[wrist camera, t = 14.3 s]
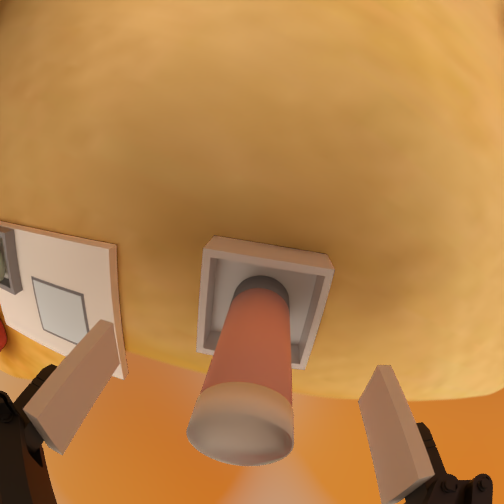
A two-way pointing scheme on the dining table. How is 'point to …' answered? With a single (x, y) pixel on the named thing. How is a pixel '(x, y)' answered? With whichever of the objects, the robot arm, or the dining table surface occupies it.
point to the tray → (267, 264)
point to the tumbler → (249, 381)
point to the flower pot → (2, 336)
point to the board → (59, 288)
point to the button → (2, 267)
